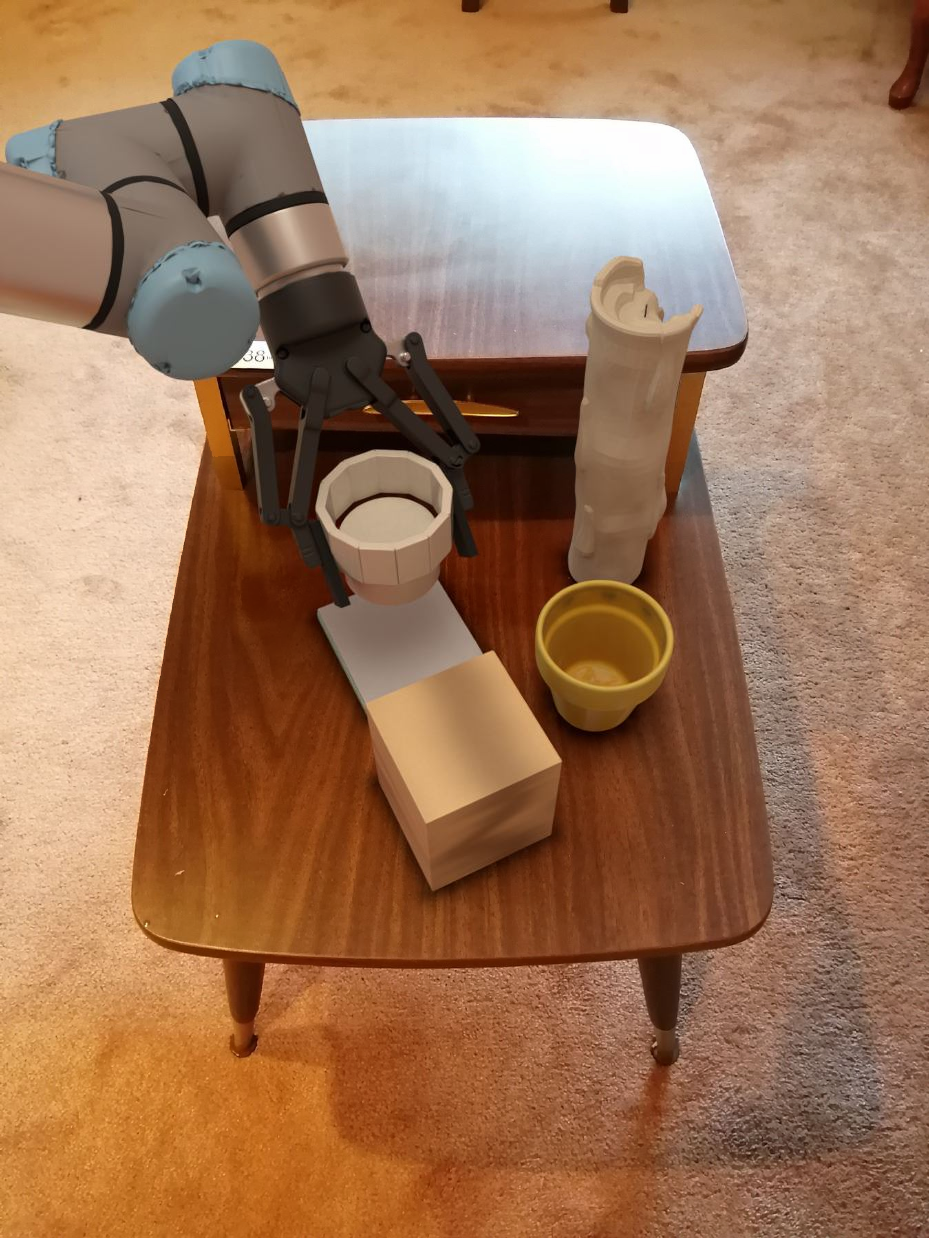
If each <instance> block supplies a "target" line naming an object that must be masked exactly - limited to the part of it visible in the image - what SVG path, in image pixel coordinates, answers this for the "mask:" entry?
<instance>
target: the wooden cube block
mask: <svg viewBox="0 0 929 1238" xmlns="http://www.w3.org/2000/svg"><path fill="white" fill-rule="evenodd" d="M365 706H366V712H367V715H366V716H367V717H366V718H367V723H368V727H369V733H370V741H371V745H372V751H373V756H374V763H375V767H376V773H377V779H378V783H379V785H380V787H381V789H382V791H383V793H384V795H385V797H386V799H387V801H388V804H389V806H390V807H391V810H392V811H393V814H394V816H395V817H396V821H397V822H398V823H399V826H400V828H401V830H402V832H403V835H404V836H405V839H406V840H407V842H408V844H409V846H410V849H411V851H412V853H413V855H414V856H415V859H416V861H417V863H418V866H419V867H420V870H421V871H422V873H423V875H424V877H425V879H426V881H427V883H428V885H429V887H430V889H431V891H432V892H435V891H437V890H439V889H441V888H443V887H445V886H448V885H449V884H452V883H454V882H457V881H458V880H461V879H462V878H464V877H467V876H468V875H471V874H472V873H475V872H476V871H479V870H481V869H483V868H485V867H487V866H489V865H491V864H494V863H495V862H497V861H500V860H501V859H504V858H506V857H508V856H510V855H512V854H514V853H516V852H519V851H520V850H523V849H525V848H526V847H529V846H531V845H533V844H535V843H537V842H539V841H542V840H544V839H546V838H548V837H550V836H551V835H552V832H553V824H554V819H555V813H556V811H555V810H556V806H557V805H556V804H557V800H558V799H557V798H558V792H559V791H558V790H559V785H560V779H561V771H562V764H563V760H562V759H561V757H560V756H559V754H558V752H557V750H556V749H555V747H554V746H553V744H552V742H551V741H550V740H549V739H550V738H548V736H547V734H546V733H545V731H544V729H543V728H542V726H541V724H540V723H539V721H538V720H537V718H536V716H535V715H534V713H533V711H532V709H530V706H529V705H528V703H527V702H526V700H525V699H524V698H523V695H522V694H521V692H520V690H519V689H518V687H517V686H516V683H514V681H513V679H512V678H511V676H510V674H509V673H508V671H507V669H506V668H505V667H504V665H503V663H502V661H501V660H500V658H499V657H498V655H497V654H496V652H495V651H494V650H490V651H487V652H485V653H483V655H480V656H478V657H475V658H473V659H471V660H468V661H466V662H463V663H461V664H459V665H456V666H454V667H451V668H449V669H447V670H444V671H442V672H440V673H437V674H435V675H432V676H430V677H428V678H425V679H423V680H420V681H418V682H416V683H413V684H411V685H408V686H406V687H404V688H401V689H399V690H396V691H394V692H392V693H389V694H387V695H385V696H382V697H380V698H377V699H375V700H373V701H370V702H368V703H366V704H365Z"/></svg>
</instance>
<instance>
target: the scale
mask: <svg viewBox="0 0 929 1238" xmlns="http://www.w3.org/2000/svg"><path fill="white" fill-rule="evenodd" d="M348 598H349V600H350V603H351V605H349V606H346V607H344V608H340V607H338V606H336V605H335V604H334V602H332V603H329V604H327V605H324V606H322V607H319V608H318V609H317V612H316V615H317V620H318V621H319V624H320V626H321V628H322V629H323V631H324V634H325V635H326V638H327V639H328V642H329V644H330V645H331V647H332V649H333V651H334V653H335V655H336V657H337V659H338V661H339V663H340V665H341V667H342V669H343V671H344V673H345V675H346V677H347V679H348V681H349V683H350V685H351V687H352V689H353V691H354V693H355V695H356V697H357V699H358V701H359V703H360V705H361V708H362V709H363V711H364V713H365V715H366V716H367V712H366V706H365V704H366V703H368V702H370V701H373V700H375V699H377V698H380V697H382V696H385V695H387V694H389V693H392V692H394V691H396V690H399V689H401V688H404V687H406V686H408V685H411V684H413V683H416V682H418V681H420V680H423V679H425V678H428V677H430V676H432V675H435V674H437V673H440V672H442V671H444V670H447V669H449V668H451V667H454V666H456V665H459V664H461V663H463V662H466V661H468V660H471V659H473V658H475V657H478V656H480V655H483V654H484V653H483V651H482V650H481V647H479V645H478V643H477V641H476V639H475V638H474V636H473V635H472V633H471V632H470V630H469V628H468V627H467V625H466V623H465V622H464V620H463V618H462V617H461V615H460V614H459V612H458V610H457V609H456V607H455V605H454V604H453V602H452V600H451V599H450V597H449V596H448V594H447V592H446V591H445V589H444V587H443V585H442V584H441V582H440V580H439V578H438V579H437V581H436V583H435V584H434V586H433V587H432V588H431V589H430V590H429V591H428V592H427V593H426V594H425V595H423V596H422V597H420V598H419V599H417V600H414V601H412V602H409V603H406V604H402V605H395V606H385V605H378V604H374V603H371V602H368V601H366V600H364V599H362V598H360V597H359V596H358V595H356V594H355V593H354V594H353V595H350V596H348Z"/></svg>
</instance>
